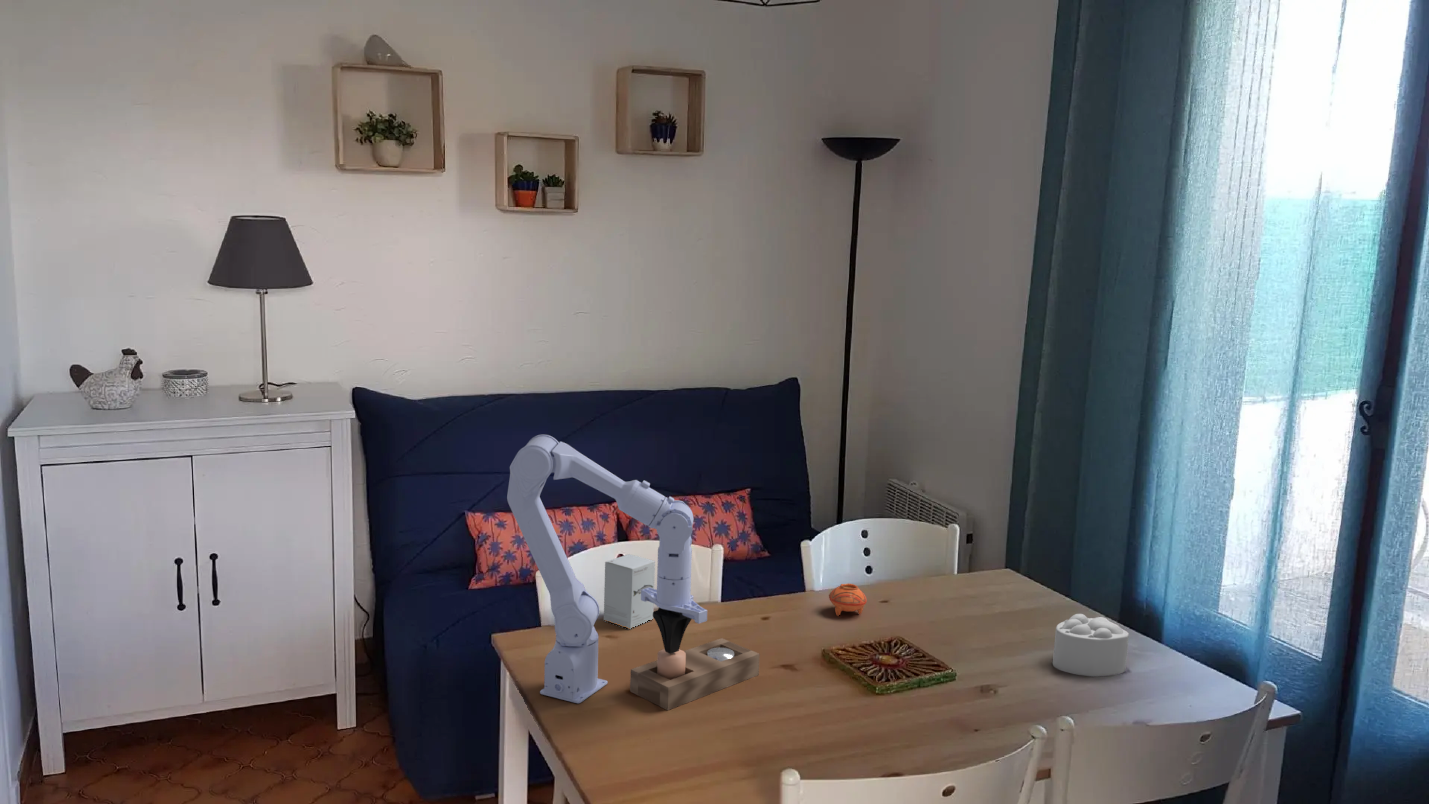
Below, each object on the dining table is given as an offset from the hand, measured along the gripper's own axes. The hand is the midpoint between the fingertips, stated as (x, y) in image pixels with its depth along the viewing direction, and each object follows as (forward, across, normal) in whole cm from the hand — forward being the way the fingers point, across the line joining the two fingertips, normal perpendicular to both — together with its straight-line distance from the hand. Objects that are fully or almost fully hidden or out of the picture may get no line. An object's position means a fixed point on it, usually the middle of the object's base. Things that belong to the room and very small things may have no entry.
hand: (672, 651), depth 187 cm
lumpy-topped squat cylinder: (+8, -42, -68) cm, 80 cm away
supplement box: (+8, +30, -16) cm, 35 cm away
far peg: (+8, 0, -12) cm, 14 cm away
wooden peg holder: (+8, 0, -6) cm, 10 cm away
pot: (+8, +5, -54) cm, 55 cm away
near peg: (+4, 0, 0) cm, 5 cm away
